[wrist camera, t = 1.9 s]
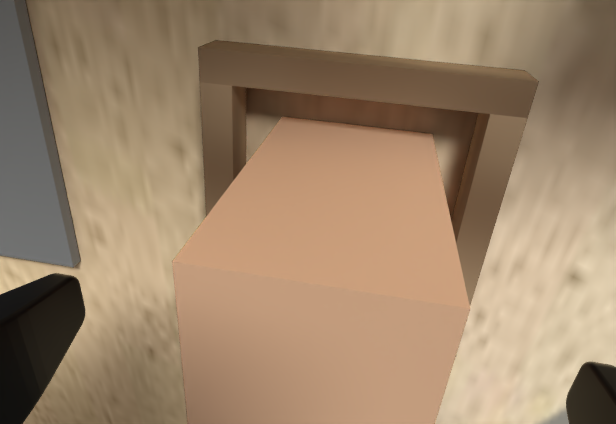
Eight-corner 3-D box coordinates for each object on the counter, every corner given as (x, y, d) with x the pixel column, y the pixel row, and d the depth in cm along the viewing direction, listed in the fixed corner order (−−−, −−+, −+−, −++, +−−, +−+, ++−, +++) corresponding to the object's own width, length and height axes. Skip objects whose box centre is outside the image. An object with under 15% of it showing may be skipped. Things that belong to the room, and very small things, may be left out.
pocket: (453, 316, 14) (458, 343, 13) (223, 278, 15) (210, 301, 14) (525, 70, 11) (538, 81, 10) (215, 40, 12) (198, 47, 11)
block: (406, 260, 14) (414, 490, 8) (277, 240, 14) (189, 443, 8) (432, 133, 12) (470, 308, 6) (282, 116, 12) (172, 261, 6)
